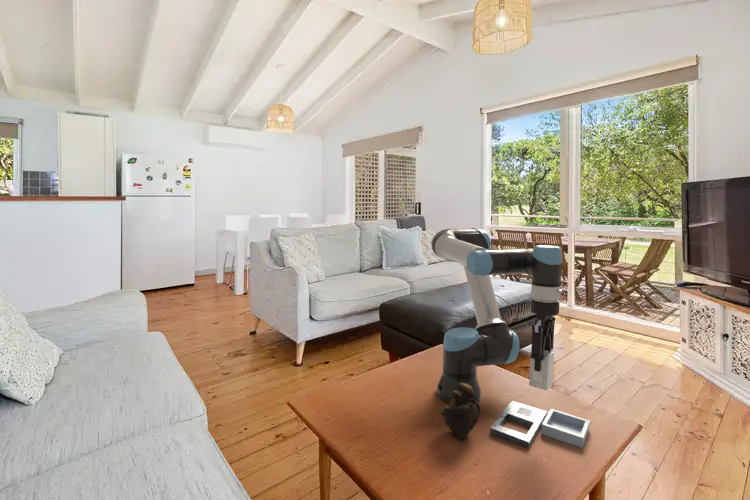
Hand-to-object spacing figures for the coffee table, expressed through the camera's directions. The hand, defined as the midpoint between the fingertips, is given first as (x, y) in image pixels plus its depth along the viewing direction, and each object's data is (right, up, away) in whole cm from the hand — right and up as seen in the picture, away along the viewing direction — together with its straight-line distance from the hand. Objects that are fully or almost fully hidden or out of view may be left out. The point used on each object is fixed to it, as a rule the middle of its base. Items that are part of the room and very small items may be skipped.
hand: (541, 377), depth 113 cm
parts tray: (+8, -17, +3) cm, 19 cm away
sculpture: (-23, -17, 0) cm, 29 cm away
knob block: (0, -2, 0) cm, 2 cm away
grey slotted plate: (-4, -17, +6) cm, 18 cm away
